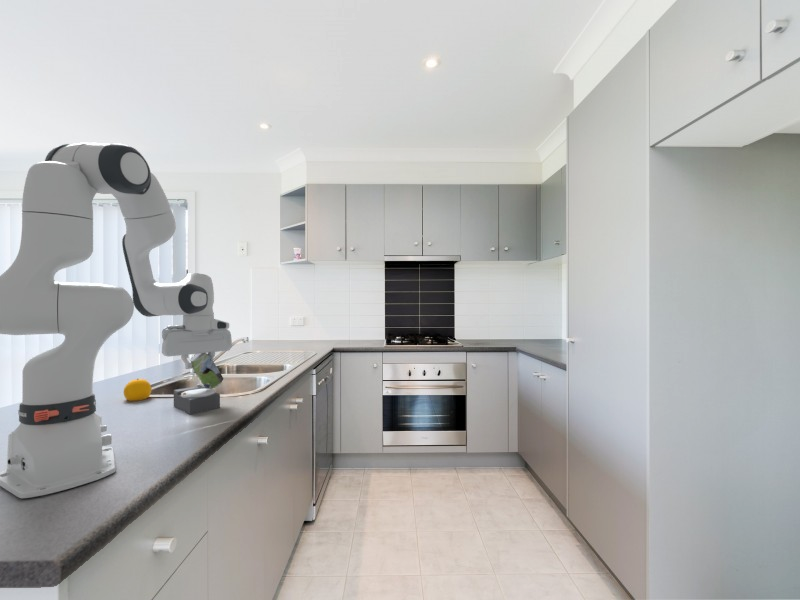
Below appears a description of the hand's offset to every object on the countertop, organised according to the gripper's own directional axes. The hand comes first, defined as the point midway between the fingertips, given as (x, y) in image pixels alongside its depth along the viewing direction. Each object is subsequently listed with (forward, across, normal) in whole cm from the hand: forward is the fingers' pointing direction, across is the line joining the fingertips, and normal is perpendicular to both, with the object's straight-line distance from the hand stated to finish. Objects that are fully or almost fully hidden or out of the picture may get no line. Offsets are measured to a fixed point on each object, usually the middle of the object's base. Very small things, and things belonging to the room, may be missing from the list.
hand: (198, 367), depth 119 cm
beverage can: (+7, +5, 0) cm, 9 cm away
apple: (+13, -9, +28) cm, 32 cm away
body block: (+13, 0, +2) cm, 13 cm away
